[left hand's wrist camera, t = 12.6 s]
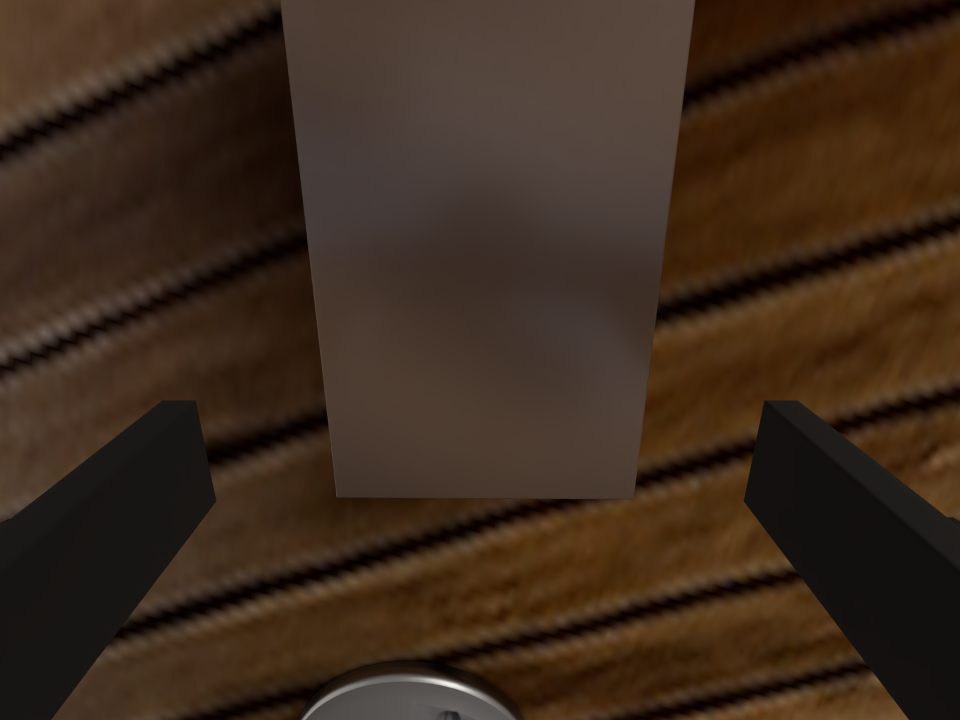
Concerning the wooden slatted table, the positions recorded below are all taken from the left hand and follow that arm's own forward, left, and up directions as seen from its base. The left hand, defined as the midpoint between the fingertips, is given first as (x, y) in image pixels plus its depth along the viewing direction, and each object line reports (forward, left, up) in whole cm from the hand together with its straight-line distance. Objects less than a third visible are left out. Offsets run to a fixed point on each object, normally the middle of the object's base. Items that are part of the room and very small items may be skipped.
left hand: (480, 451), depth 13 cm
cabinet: (+2, +4, -13) cm, 14 cm away
